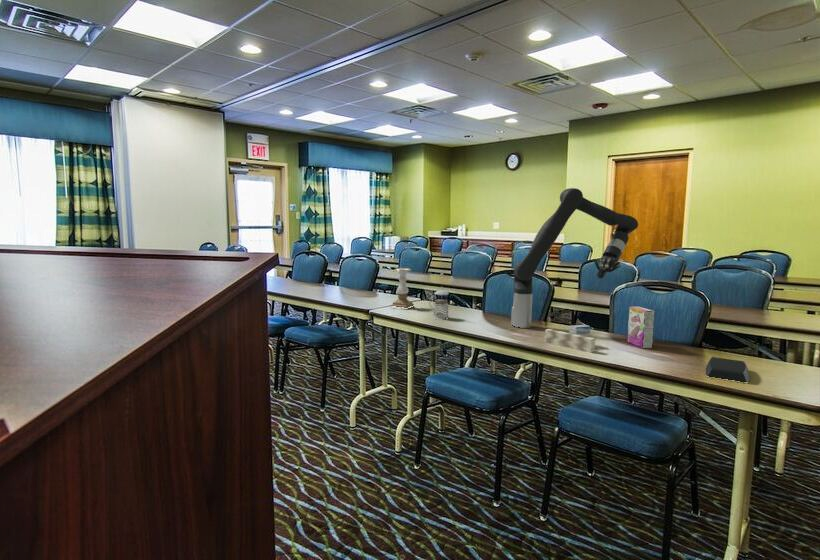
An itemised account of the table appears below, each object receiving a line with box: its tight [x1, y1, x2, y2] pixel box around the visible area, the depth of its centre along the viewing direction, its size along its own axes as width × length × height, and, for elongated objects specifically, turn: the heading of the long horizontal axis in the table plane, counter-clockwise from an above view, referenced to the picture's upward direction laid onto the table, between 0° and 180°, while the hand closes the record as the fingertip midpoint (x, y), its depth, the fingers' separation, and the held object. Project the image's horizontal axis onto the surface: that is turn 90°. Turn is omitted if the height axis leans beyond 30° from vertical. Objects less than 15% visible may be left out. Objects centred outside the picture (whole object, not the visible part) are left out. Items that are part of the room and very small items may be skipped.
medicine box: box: [568, 324, 592, 337], centre depth 206 cm, size 8×4×9 cm, turn 109°
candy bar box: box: [626, 305, 656, 349], centre depth 206 cm, size 11×5×16 cm, turn 9°
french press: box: [428, 272, 450, 320], centre depth 260 cm, size 10×12×25 cm
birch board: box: [544, 328, 596, 353], centre depth 203 cm, size 22×3×6 cm, turn 40°
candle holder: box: [390, 267, 415, 308], centre depth 290 cm, size 11×11×24 cm
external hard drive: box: [705, 356, 750, 382], centre depth 169 cm, size 13×19×4 cm
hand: (599, 277), depth 221 cm, fingers closed
